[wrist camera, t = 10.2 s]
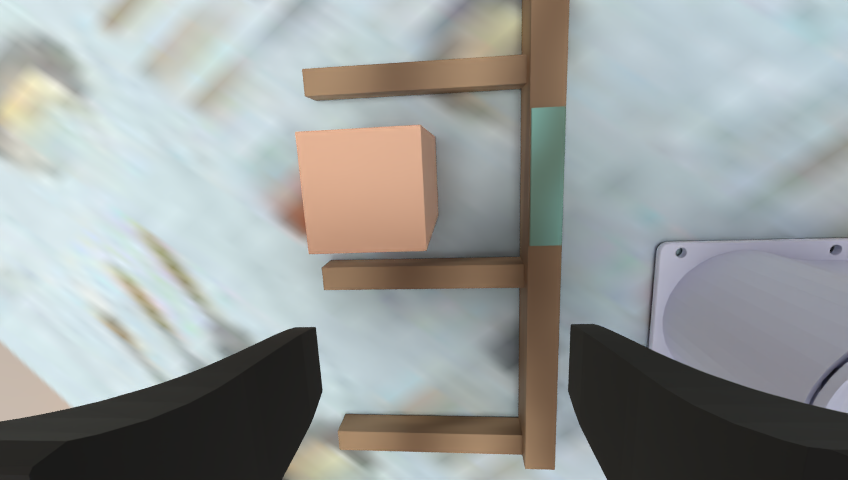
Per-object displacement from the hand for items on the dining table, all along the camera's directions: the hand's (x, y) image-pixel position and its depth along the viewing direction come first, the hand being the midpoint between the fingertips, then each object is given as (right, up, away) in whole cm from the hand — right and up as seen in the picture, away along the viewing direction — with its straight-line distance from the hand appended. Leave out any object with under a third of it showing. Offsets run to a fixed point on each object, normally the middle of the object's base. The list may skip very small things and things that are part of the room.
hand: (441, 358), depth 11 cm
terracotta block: (-2, +7, +9) cm, 12 cm away
